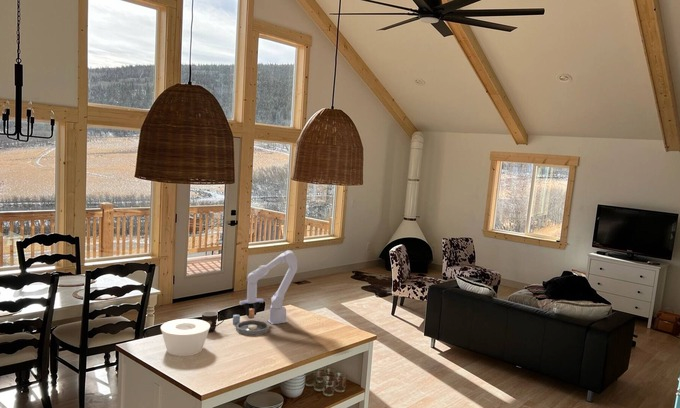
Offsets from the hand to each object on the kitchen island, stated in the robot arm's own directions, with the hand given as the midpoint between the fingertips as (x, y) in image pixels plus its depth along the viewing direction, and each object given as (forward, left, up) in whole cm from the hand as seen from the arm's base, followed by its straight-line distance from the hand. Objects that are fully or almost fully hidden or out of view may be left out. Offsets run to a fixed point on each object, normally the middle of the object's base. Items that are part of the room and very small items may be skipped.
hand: (251, 315), depth 308 cm
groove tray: (+4, +13, -4) cm, 14 cm away
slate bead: (+9, 0, -4) cm, 10 cm away
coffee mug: (+26, +7, -4) cm, 27 cm away
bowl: (+46, +27, -5) cm, 54 cm away
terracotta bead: (0, 0, -2) cm, 2 cm away
